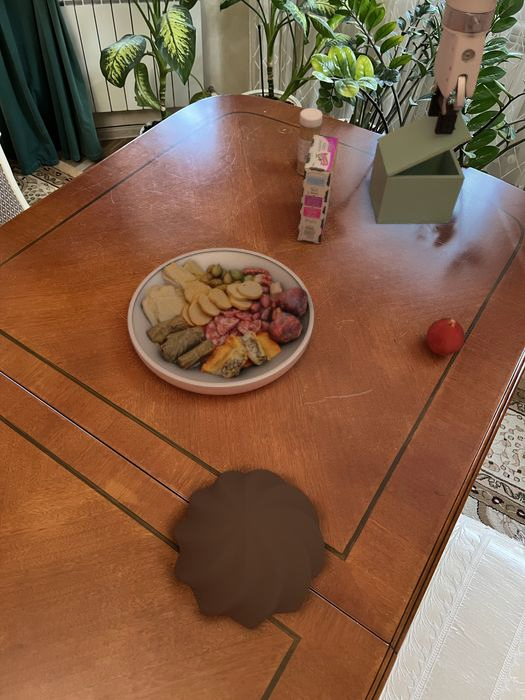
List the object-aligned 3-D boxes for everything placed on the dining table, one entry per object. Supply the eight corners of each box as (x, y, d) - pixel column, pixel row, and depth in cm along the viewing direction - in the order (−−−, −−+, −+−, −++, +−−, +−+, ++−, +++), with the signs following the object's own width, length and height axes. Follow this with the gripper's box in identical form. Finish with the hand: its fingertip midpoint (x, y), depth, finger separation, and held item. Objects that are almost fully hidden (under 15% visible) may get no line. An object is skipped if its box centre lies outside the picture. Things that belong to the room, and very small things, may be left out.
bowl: (134, 416, 86) (125, 386, 79) (130, 276, 104) (123, 243, 98) (329, 392, 89) (335, 362, 83) (293, 260, 107) (295, 227, 101)
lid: (456, 104, 107) (448, 79, 103) (472, 139, 100) (464, 113, 96) (378, 142, 113) (368, 120, 109) (388, 177, 106) (378, 155, 102)
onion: (419, 336, 96) (431, 304, 90) (453, 338, 96) (467, 306, 90) (424, 364, 93) (436, 333, 86) (459, 365, 93) (475, 334, 86)
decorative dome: (166, 629, 68) (155, 607, 60) (180, 474, 80) (172, 439, 72) (328, 629, 68) (338, 607, 60) (318, 475, 80) (325, 440, 72)
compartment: (436, 188, 122) (450, 142, 113) (448, 223, 115) (465, 177, 106) (368, 188, 121) (377, 142, 113) (376, 224, 114) (387, 177, 106)
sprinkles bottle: (317, 166, 126) (324, 108, 115) (315, 178, 123) (321, 120, 112) (297, 163, 126) (301, 105, 116) (294, 175, 123) (298, 117, 113)
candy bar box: (321, 245, 110) (331, 172, 97) (296, 241, 110) (302, 168, 97) (329, 209, 117) (340, 136, 104) (305, 205, 117) (312, 132, 104)
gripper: (507, 40, 84) (471, 150, 99) (477, -6, 95) (449, 100, 109) (456, 41, 84) (428, 151, 98) (432, -5, 95) (410, 100, 109)
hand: (439, 123), depth 104 cm, fingers closed on lid, 5 cm apart
